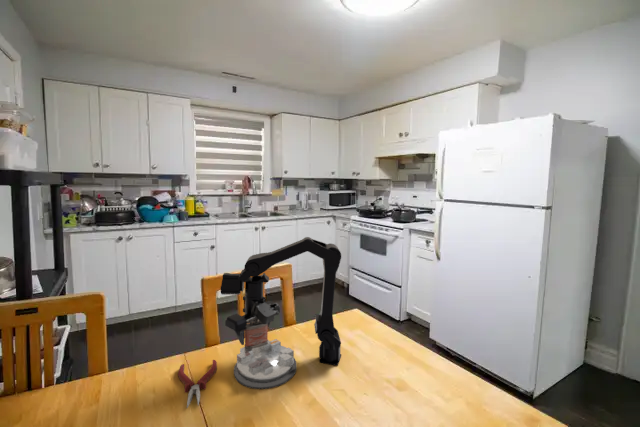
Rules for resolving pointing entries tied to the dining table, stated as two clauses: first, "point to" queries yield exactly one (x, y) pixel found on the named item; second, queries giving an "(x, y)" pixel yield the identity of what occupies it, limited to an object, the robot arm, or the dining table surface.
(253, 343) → the lighter
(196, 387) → the pliers
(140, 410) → the dining table surface
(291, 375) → the base plate
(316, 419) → the dining table surface
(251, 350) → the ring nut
